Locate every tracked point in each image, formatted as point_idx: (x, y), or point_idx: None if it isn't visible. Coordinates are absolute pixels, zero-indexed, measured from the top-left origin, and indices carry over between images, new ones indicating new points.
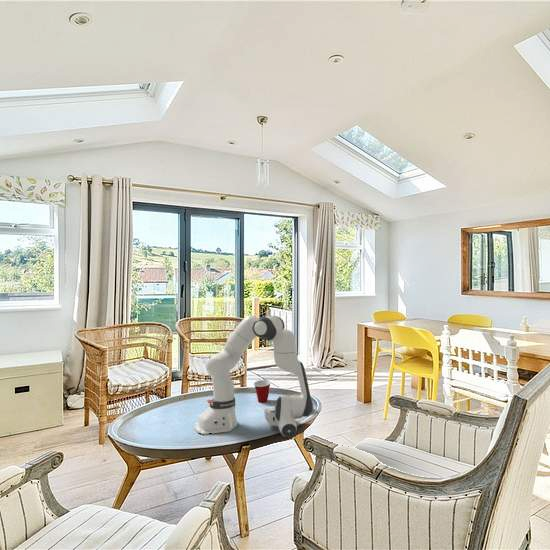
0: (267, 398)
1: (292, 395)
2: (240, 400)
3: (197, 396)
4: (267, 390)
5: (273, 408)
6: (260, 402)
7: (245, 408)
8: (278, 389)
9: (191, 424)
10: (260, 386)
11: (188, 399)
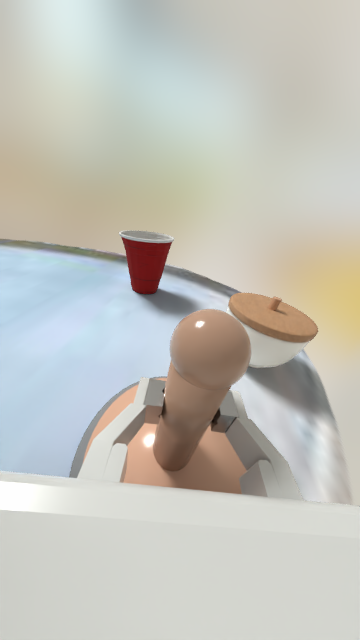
0: (156, 285)
1: (244, 297)
2: (92, 274)
3: (14, 245)
4: (158, 261)
5: (3, 516)
6: (135, 291)
7: (69, 299)
8: (191, 273)
9: None
10: (133, 239)
11: None
